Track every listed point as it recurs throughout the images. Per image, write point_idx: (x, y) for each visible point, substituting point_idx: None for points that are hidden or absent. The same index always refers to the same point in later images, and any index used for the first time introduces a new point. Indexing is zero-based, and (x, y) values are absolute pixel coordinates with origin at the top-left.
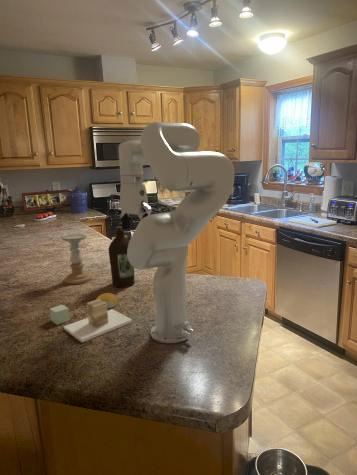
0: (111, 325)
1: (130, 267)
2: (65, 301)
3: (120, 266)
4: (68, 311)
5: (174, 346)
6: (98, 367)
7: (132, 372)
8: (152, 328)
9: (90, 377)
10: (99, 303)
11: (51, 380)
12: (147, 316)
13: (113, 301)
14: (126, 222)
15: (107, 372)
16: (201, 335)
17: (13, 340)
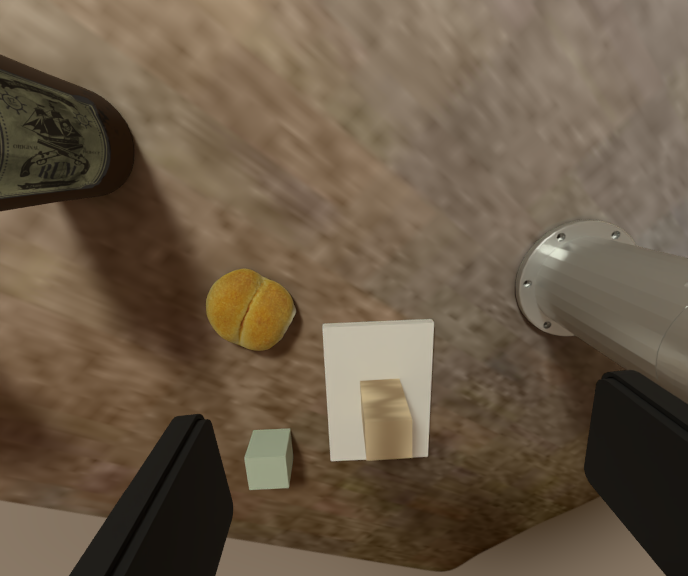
0: (420, 379)
1: (69, 120)
2: (141, 389)
3: (57, 182)
4: (286, 449)
5: None
6: (538, 464)
7: None
8: (528, 314)
9: (552, 484)
10: (400, 437)
11: (503, 528)
12: (434, 263)
13: (289, 309)
14: (186, 560)
15: (566, 459)
16: (652, 223)
17: (303, 537)
